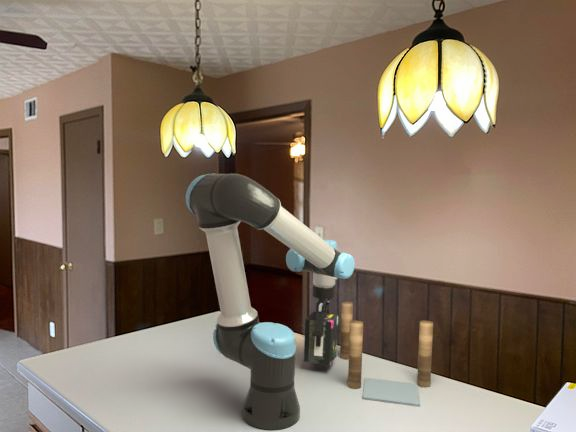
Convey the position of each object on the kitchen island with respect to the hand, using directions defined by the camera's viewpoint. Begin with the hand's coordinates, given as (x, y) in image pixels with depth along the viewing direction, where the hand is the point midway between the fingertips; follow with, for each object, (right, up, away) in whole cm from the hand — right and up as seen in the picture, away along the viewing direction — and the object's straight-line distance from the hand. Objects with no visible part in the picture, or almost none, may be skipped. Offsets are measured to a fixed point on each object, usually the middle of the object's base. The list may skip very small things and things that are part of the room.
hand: (320, 349), depth 150 cm
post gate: (+10, -6, +10) cm, 15 cm away
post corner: (+9, -7, -13) cm, 18 cm away
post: (+31, -8, -11) cm, 34 cm away
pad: (+20, -8, -17) cm, 27 cm away
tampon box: (0, -3, 0) cm, 3 cm away
